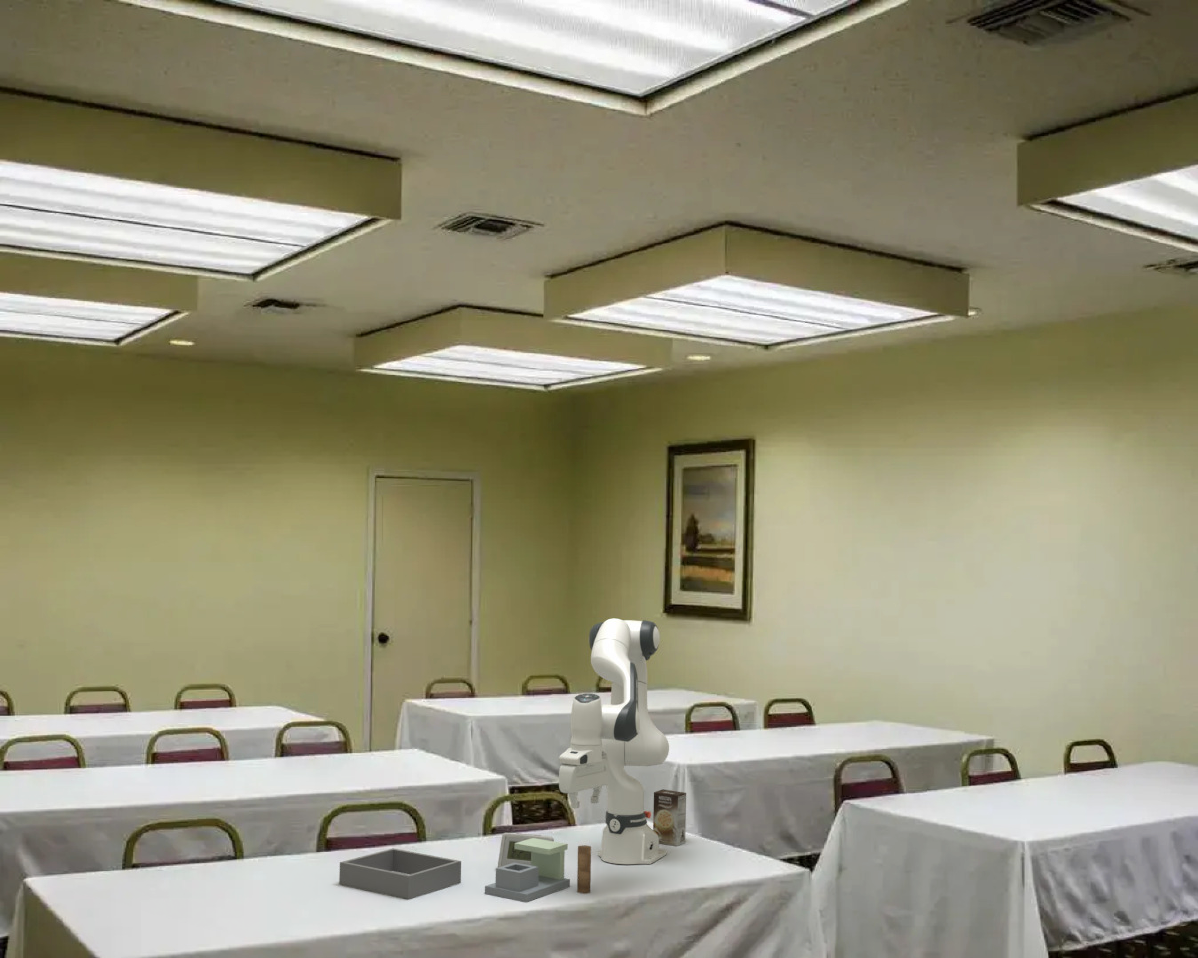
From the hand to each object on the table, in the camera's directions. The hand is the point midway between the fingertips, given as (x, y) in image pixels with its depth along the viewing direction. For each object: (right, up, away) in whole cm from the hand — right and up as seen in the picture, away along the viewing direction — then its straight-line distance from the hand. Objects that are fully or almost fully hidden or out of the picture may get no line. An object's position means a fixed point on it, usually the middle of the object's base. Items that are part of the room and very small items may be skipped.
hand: (585, 805), depth 351 cm
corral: (-51, -23, +4) cm, 56 cm away
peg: (0, -23, -1) cm, 23 cm away
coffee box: (+26, -27, +60) cm, 71 cm away
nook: (-16, -23, -1) cm, 28 cm away
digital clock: (-17, -24, +18) cm, 35 cm away
